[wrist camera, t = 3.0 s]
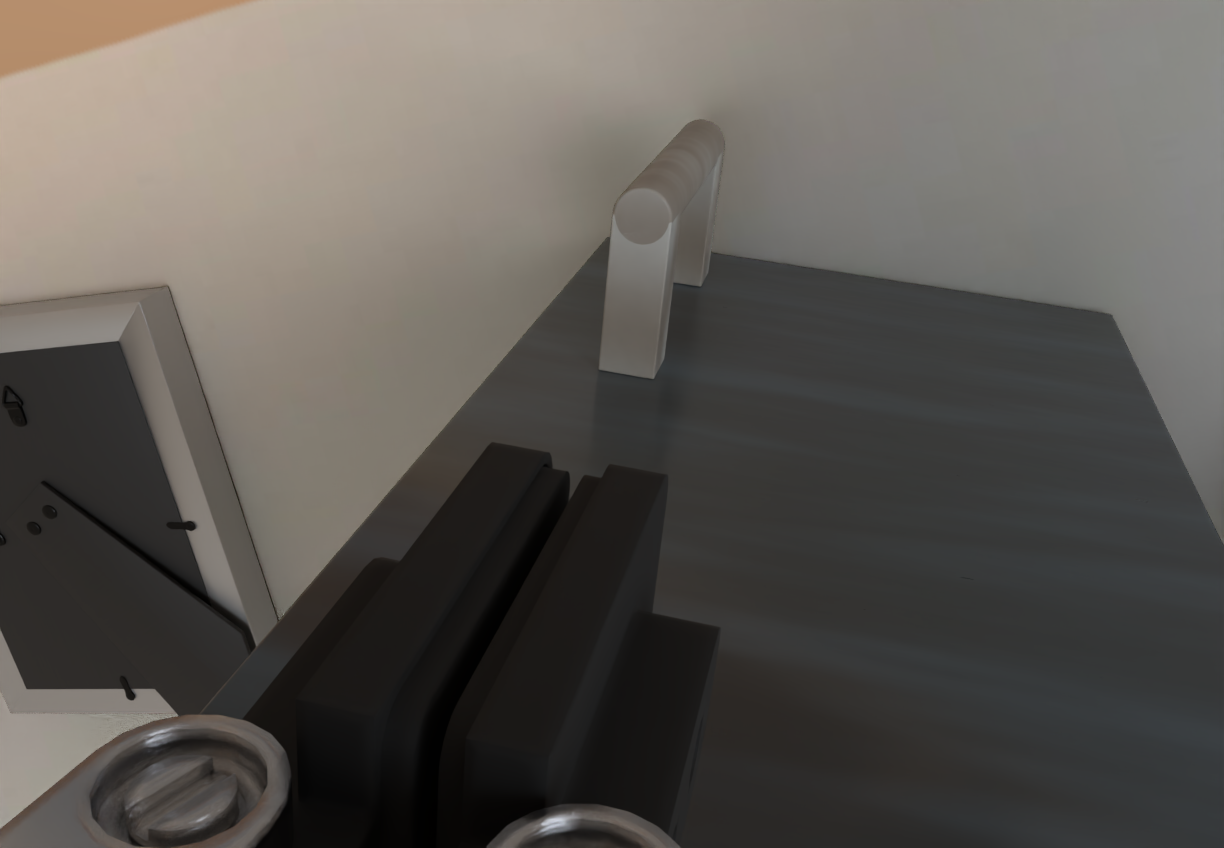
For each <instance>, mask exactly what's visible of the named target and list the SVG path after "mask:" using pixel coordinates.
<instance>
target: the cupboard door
mask: <svg viewBox="0 0 1224 848" xmlns="http://www.w3.org/2000/svg"><path fill="white" fill-rule="evenodd" d="M724 148H725V139H724V136H723V133H722V131H721V130H720V128H719V127H718V126H717V125H715V124H714V123H712V122H710V121H708V120H695V121H692V122H690V123H688V124H687V125H686V126H685V127H684V128H683V129H682V130H681V131H680V132H679V133H678V134H677V135H676V136H675V137H674V138H673V139H672V141H671V142H670V143H669V144H668V145H667V146H666V147H665V148H664V149H663V150H662V151H661V152H660V153H659V155H658V156H657V157H656V158H655V159H654V160H653V161H652V162H651V163H650V164H649V165H648V166H647V167H646V168H645V170H644V171H643V172H642V173H641V174H640V175H639V176H638V177H637V178H636V179H635V180H634V181H633V182H632V184H631V185H630V186H629V187H628V188H627V189H626V190H625V191H624V192H623V193H622V194H621V195H620V197H619V198H618V199H617V201H616V203H615V205H614V208H613V215H612V225H611V236H610V237H607V238H606V239H605V241H604V242H603V243H602V244H601V245H600V246H599V248H598V249H597V250H596V251H595V252H594V253H593V255H592V256H591V257H590V258H589V259H588V260H587V262H586V263H585V264H584V265H583V266H582V267H581V269H580V270H579V271H578V272H577V273H576V274H575V276H574V277H573V278H572V279H571V280H570V281H569V283H568V284H567V285H566V286H565V287H564V288H563V290H562V291H561V292H560V293H559V294H558V295H557V297H556V298H555V299H554V300H553V301H552V302H551V304H550V305H549V306H548V307H547V308H546V309H545V311H544V312H543V313H542V314H541V315H540V316H539V318H538V319H537V320H536V321H535V322H534V323H533V325H532V326H531V327H530V328H529V329H528V330H527V332H526V333H525V334H524V335H523V336H522V337H521V339H520V340H519V341H518V342H517V343H516V344H515V346H514V347H513V348H512V349H511V350H510V351H509V353H508V354H507V355H506V356H505V357H504V358H503V360H502V361H501V362H500V363H499V364H498V365H497V367H496V368H495V369H494V370H493V371H492V372H491V374H490V375H489V376H488V377H487V378H486V379H485V381H484V382H483V383H482V384H481V385H480V386H479V388H478V389H477V390H476V391H475V392H474V393H473V395H472V396H471V397H470V398H469V399H468V401H467V402H466V403H465V404H464V405H463V406H462V408H461V409H460V410H459V411H458V412H457V413H456V415H455V416H454V417H453V418H452V419H451V420H450V422H449V423H448V424H447V425H446V426H445V427H444V429H443V430H442V431H441V432H440V433H439V434H438V436H437V437H436V438H435V439H434V440H433V441H432V443H431V444H430V445H429V446H428V447H427V448H426V450H425V451H424V452H423V453H422V454H421V455H420V457H419V458H418V459H417V460H416V461H415V462H414V464H413V465H412V466H411V467H410V468H409V469H408V471H407V472H406V473H405V474H404V475H403V476H402V478H401V479H400V480H399V481H398V482H397V483H396V485H395V486H394V487H393V488H392V489H391V490H390V492H389V493H388V494H387V495H386V496H385V497H384V499H383V500H382V501H381V502H380V503H379V504H378V506H377V507H376V508H375V509H374V510H373V511H372V513H371V514H370V515H369V516H368V517H367V518H366V520H365V521H364V522H363V523H362V524H361V525H360V527H359V528H358V529H357V530H356V531H355V532H354V534H353V535H352V536H351V537H350V538H349V539H348V541H347V542H346V543H345V544H344V545H343V546H342V548H341V549H340V550H339V551H338V552H337V553H336V555H335V556H334V557H333V558H332V559H331V560H330V562H329V563H328V564H327V565H326V566H325V567H324V569H323V570H322V571H321V572H320V573H319V574H318V576H317V577H316V578H315V579H314V580H313V581H312V583H311V584H310V585H309V586H308V587H307V588H306V590H305V591H304V592H303V593H302V594H301V595H300V597H299V598H298V599H297V600H296V601H295V602H294V604H293V605H292V606H291V607H290V608H289V609H288V611H287V612H286V613H285V614H284V615H283V616H282V618H281V619H280V620H279V621H278V622H277V623H276V625H275V626H274V627H273V628H272V629H271V630H270V632H269V633H268V634H267V635H266V636H265V637H264V639H263V640H262V641H261V642H260V643H259V644H258V646H257V647H256V648H255V649H254V650H253V651H252V653H251V654H250V655H249V656H248V657H247V658H246V660H245V661H244V662H243V663H242V664H241V665H240V667H239V668H238V669H237V670H236V671H235V672H234V674H233V675H232V676H231V677H230V678H229V679H228V681H227V682H226V683H225V684H224V685H223V686H222V688H221V689H220V690H219V691H218V692H217V693H216V695H215V696H214V697H213V698H212V699H211V700H210V702H209V703H208V704H207V705H206V706H205V707H204V709H203V710H202V711H201V712H200V713H199V714H198V715H223V716H227V717H231V718H236V719H240V720H242V719H243V717H244V716H245V715H246V714H247V712H248V711H249V710H250V709H251V707H252V706H253V705H254V704H255V702H256V701H257V700H258V699H259V697H260V696H261V695H262V694H263V693H264V691H265V690H266V689H267V688H268V686H269V685H270V684H271V683H272V681H273V680H274V679H275V678H276V676H277V675H278V674H279V673H280V671H281V670H282V669H283V668H284V666H285V665H286V664H287V663H288V662H289V660H290V659H291V658H292V657H293V655H294V654H295V653H296V652H297V650H298V649H299V648H300V647H301V645H302V644H303V643H304V642H305V640H306V639H307V638H308V637H309V635H310V634H311V633H312V632H313V631H314V629H315V628H316V627H317V626H318V624H319V623H320V622H321V621H322V619H323V618H324V617H325V616H326V614H327V613H328V612H329V611H330V609H331V608H332V607H333V606H334V605H335V603H336V602H337V601H338V600H339V598H340V597H341V596H342V595H343V593H344V592H345V591H346V590H347V588H348V587H349V586H350V585H351V583H352V582H353V581H354V580H355V578H356V577H357V576H358V575H359V574H360V572H361V571H362V570H363V569H364V567H365V566H366V565H367V564H368V563H370V562H371V561H372V560H373V559H374V558H379V557H384V558H389V559H394V560H399V561H400V560H401V559H402V558H403V557H404V555H405V554H406V553H407V551H408V550H409V549H410V547H411V546H412V545H413V543H414V542H415V541H416V539H417V538H418V537H419V536H420V534H421V533H422V532H423V530H424V529H425V528H426V526H427V525H428V524H429V522H430V521H431V520H432V518H433V517H434V516H435V514H436V513H437V512H438V511H439V509H440V508H441V507H442V505H443V504H444V503H445V501H446V500H447V499H448V497H449V496H450V495H451V493H452V492H453V491H454V490H455V488H456V487H457V486H458V484H459V483H460V482H461V480H462V479H463V478H464V476H465V475H466V474H467V472H468V471H469V470H470V468H471V467H472V466H473V465H474V463H475V462H476V461H477V459H478V458H479V457H480V455H481V454H482V453H483V451H484V450H485V449H486V447H487V446H488V445H489V444H490V443H491V442H496V443H501V444H507V445H512V446H517V447H523V448H528V449H534V450H539V451H544V452H550V454H551V457H552V464H553V469H558V470H564V471H568V472H569V474H570V493H569V500H570V499H571V497H572V495H573V493H574V491H575V490H576V488H577V486H578V484H579V482H580V481H581V479H582V477H583V476H584V475H590V476H595V477H601V478H602V476H603V474H604V472H605V470H606V468H607V467H608V465H609V464H614V465H619V466H625V467H630V468H635V469H641V470H646V471H651V472H657V473H662V474H667V475H668V493H667V502H666V510H665V518H664V525H663V533H662V541H661V549H660V557H659V565H658V573H657V580H656V588H655V596H654V604H653V612H652V613H655V614H659V615H664V616H669V617H674V618H679V619H684V620H688V621H693V622H698V623H703V624H708V625H713V626H717V627H720V629H721V632H720V641H719V648H718V655H717V661H716V667H715V674H714V680H713V686H712V693H711V699H710V705H709V711H708V716H707V722H706V727H705V733H704V738H703V743H702V748H701V754H700V759H699V763H698V768H697V773H696V778H695V782H694V787H693V791H692V796H691V800H690V804H689V809H688V813H687V817H686V821H685V826H684V830H683V834H682V838H681V843H680V847H681V848H1224V546H1223V543H1222V541H1221V539H1220V537H1219V535H1218V533H1217V531H1216V529H1215V527H1214V525H1213V523H1212V521H1211V519H1210V517H1209V515H1208V512H1207V510H1206V508H1205V506H1204V504H1203V502H1202V500H1201V498H1200V496H1199V494H1198V492H1197V490H1196V488H1195V486H1194V483H1193V481H1192V479H1191V477H1190V475H1189V473H1188V471H1187V469H1186V467H1185V465H1184V463H1183V461H1182V459H1181V457H1180V455H1179V452H1178V450H1177V448H1176V446H1175V444H1174V442H1173V440H1172V438H1171V436H1170V434H1169V432H1168V430H1167V428H1166V426H1165V424H1164V421H1163V419H1162V417H1161V415H1160V413H1159V411H1158V409H1157V407H1156V405H1155V403H1154V401H1153V399H1152V397H1151V395H1150V393H1149V390H1148V388H1147V386H1146V384H1145V382H1144V380H1143V378H1142V376H1141V374H1140V372H1139V370H1138V368H1137V366H1136V364H1135V362H1134V359H1133V357H1132V355H1131V353H1130V351H1129V349H1128V347H1127V345H1126V343H1125V341H1124V339H1123V337H1122V335H1121V333H1120V330H1119V328H1118V326H1117V324H1116V322H1115V320H1114V318H1113V316H1112V315H1111V314H1104V313H1098V312H1091V311H1085V310H1078V309H1072V308H1065V307H1059V306H1052V305H1046V304H1039V303H1033V302H1026V301H1020V300H1013V299H1007V298H1000V297H994V296H987V295H981V294H974V293H968V292H961V291H955V290H949V289H942V288H936V287H929V286H923V285H916V284H910V283H903V282H897V281H890V280H884V279H877V278H871V277H864V276H858V275H851V274H845V273H838V272H832V271H825V270H819V269H812V268H806V267H799V266H793V265H786V264H780V263H774V262H767V261H761V260H754V259H748V258H741V257H735V256H728V255H722V254H715V253H711V248H712V240H713V233H714V225H715V217H716V210H717V202H718V195H719V187H720V179H721V172H722V164H723V156H724Z"/></svg>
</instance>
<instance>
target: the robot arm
mask: <svg viewBox="0 0 1224 848" xmlns="http://www.w3.org/2000/svg"><path fill="white" fill-rule="evenodd" d="M569 493H570V474H569V472H568V471H564V470H558V469H553V464H552V457H551V454H550V452H544V451H539V450H534V449H528V448H523V447H517V446H512V445H507V444H501V443H496V442H491V443H490V444H489V445H488V446H487V447H486V449H485V450H484V451H483V453H482V454H481V455H480V457H479V458H478V459H477V461H476V462H475V463H474V465H473V466H472V467H471V468H470V470H469V471H468V472H467V474H466V475H465V476H464V478H463V479H462V480H461V482H460V483H459V484H458V486H457V487H456V488H455V490H454V491H453V492H452V493H451V495H450V496H449V497H448V499H447V500H446V501H445V503H444V504H443V505H442V507H441V508H440V509H439V511H438V512H437V513H436V514H435V516H434V517H433V518H432V520H431V521H430V522H429V524H428V525H427V526H426V528H425V529H424V530H423V532H422V533H421V534H420V536H419V537H418V538H417V539H416V541H415V542H414V543H413V545H412V546H411V547H410V549H409V550H408V551H407V553H406V554H405V555H404V557H403V558H402V559H401V560H400V561H399V560H394V559H389V558H384V557H379V558H374V559H373V560H372V561H371V562H370V563H368V564H367V565H366V566H365V567H364V569H363V570H362V571H361V572H360V574H359V575H358V576H357V577H356V578H355V580H354V581H353V582H352V583H351V585H350V586H349V587H348V588H347V590H346V591H345V592H344V593H343V595H342V596H341V597H340V598H339V600H338V601H337V602H336V603H335V605H334V606H333V607H332V608H331V609H330V611H329V612H328V613H327V614H326V616H325V617H324V618H323V619H322V621H321V622H320V623H319V624H318V626H317V627H316V628H315V629H314V631H313V632H312V633H311V634H310V635H309V637H308V638H307V639H306V640H305V642H304V643H303V644H302V645H301V647H300V648H299V649H298V650H297V652H296V653H295V654H294V655H293V657H292V658H291V659H290V660H289V662H288V663H287V664H286V665H285V666H284V668H283V669H282V670H281V671H280V673H279V674H278V675H277V676H276V678H275V679H274V680H273V681H272V683H271V684H270V685H269V686H268V688H267V689H266V690H265V691H264V693H263V694H262V695H261V696H260V697H259V699H258V700H257V701H256V702H255V704H254V705H253V706H252V707H251V709H250V710H249V711H248V712H247V714H246V715H245V716H244V717H243V719H242V720H240V719H236V718H231V717H227V716H223V715H183V716H178V717H172V718H167V719H162V720H156V721H153V722H150V723H148V724H145V725H143V726H140V727H137V728H135V729H132V730H130V731H127V732H124V733H122V734H121V735H119V736H118V737H116V738H115V739H113V740H112V741H110V742H108V743H107V744H105V745H104V746H102V747H101V748H99V749H98V750H96V751H95V752H94V753H92V754H91V755H90V756H89V757H87V758H86V759H85V760H84V761H83V762H81V763H80V764H79V765H78V766H76V767H75V768H74V769H73V770H72V771H70V772H69V773H68V774H67V775H66V776H64V777H63V778H62V779H61V780H59V781H58V782H57V783H56V784H55V785H53V786H52V787H51V788H50V789H48V790H47V791H46V792H45V793H44V794H42V795H41V796H40V797H39V798H37V799H36V800H35V801H34V802H33V803H31V804H30V805H29V806H28V807H27V808H25V809H24V810H23V811H22V812H20V813H19V814H18V815H17V816H16V817H14V818H13V819H12V820H11V821H9V822H8V823H7V824H6V825H5V826H3V827H2V828H1V829H0V848H681V847H680V843H681V838H682V834H683V830H684V826H685V821H686V817H687V813H688V809H689V804H690V800H691V796H692V791H693V787H694V782H695V778H696V773H697V768H698V763H699V759H700V754H701V748H702V743H703V738H704V733H705V727H706V722H707V716H708V711H709V705H710V699H711V693H712V686H713V680H714V674H715V667H716V661H717V655H718V648H719V641H720V632H721V629H720V627H717V626H713V625H708V624H703V623H698V622H693V621H688V620H684V619H679V618H674V617H669V616H664V615H659V614H655V613H652V612H653V604H654V596H655V588H656V580H657V573H658V565H659V557H660V549H661V541H662V533H663V525H664V518H665V510H666V502H667V493H668V475H667V474H662V473H657V472H651V471H646V470H641V469H635V468H630V467H625V466H619V465H614V464H609V465H608V467H607V468H606V470H605V472H604V474H603V476H602V478H601V477H595V476H590V475H584V476H583V477H582V479H581V481H580V482H579V484H578V486H577V488H576V490H575V491H574V493H573V495H572V497H571V499H570V500H569Z"/></svg>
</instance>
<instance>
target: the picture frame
mask: <svg viewBox="0 0 1224 848" xmlns="http://www.w3.org/2000/svg"><path fill="white" fill-rule="evenodd" d="M277 622H278V620H277V617H276V614H275V611H274V608H273V605H272V602H271V599H270V596H269V593H268V589H267V586H266V583H265V580H264V577H263V574H262V571H261V568H260V565H259V562H258V559H257V556H256V553H255V550H254V547H253V544H252V541H251V538H250V535H249V532H248V529H247V526H246V523H245V520H244V517H243V514H242V511H241V507H240V504H239V501H238V498H237V495H236V492H235V489H234V486H233V483H232V480H231V477H230V474H229V471H228V468H227V465H226V462H225V459H224V456H223V453H222V450H221V447H220V444H219V441H218V438H217V435H216V432H215V429H214V425H213V422H212V419H211V416H210V413H209V410H208V407H207V404H206V401H205V398H204V395H203V392H202V389H201V386H200V383H199V380H198V377H197V374H196V371H195V368H194V365H193V362H192V359H191V356H190V353H189V350H188V346H187V343H186V340H185V337H184V334H183V331H182V328H181V325H180V322H179V319H178V316H177V313H176V310H175V307H174V304H173V301H172V298H171V295H170V292H169V289H168V287H160V288H152V289H143V290H134V291H125V292H117V293H108V294H99V295H91V296H82V297H73V298H64V299H56V300H47V301H38V302H29V303H21V304H12V305H3V306H0V690H1V693H2V695H3V697H4V699H5V702H6V704H7V706H8V708H9V710H10V713H129V714H178V715H179V716H183V715H198V714H199V713H200V712H201V711H202V710H203V709H204V707H205V706H206V705H207V704H208V703H209V702H210V700H211V699H212V698H213V697H214V696H215V695H216V693H217V692H218V691H219V690H220V689H221V688H222V686H223V685H224V684H225V683H226V682H227V681H228V679H229V678H230V677H231V676H232V675H233V674H234V672H235V671H236V670H237V669H238V668H239V667H240V665H241V664H242V663H243V662H244V661H245V660H246V658H247V657H248V656H249V655H250V654H251V653H252V651H253V650H254V649H255V648H256V647H257V646H258V644H259V643H260V642H261V641H262V640H263V639H264V637H265V636H266V635H267V634H268V633H269V632H270V630H271V629H272V628H273V627H274V626H275V625H276V623H277Z"/></svg>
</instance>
